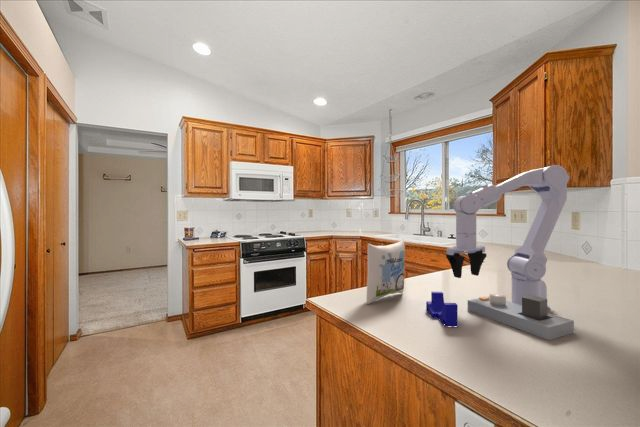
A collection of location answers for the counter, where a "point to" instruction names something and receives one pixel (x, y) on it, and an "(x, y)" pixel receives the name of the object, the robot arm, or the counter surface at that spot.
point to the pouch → (385, 270)
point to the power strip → (520, 317)
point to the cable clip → (442, 309)
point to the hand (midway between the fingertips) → (466, 276)
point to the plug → (534, 307)
